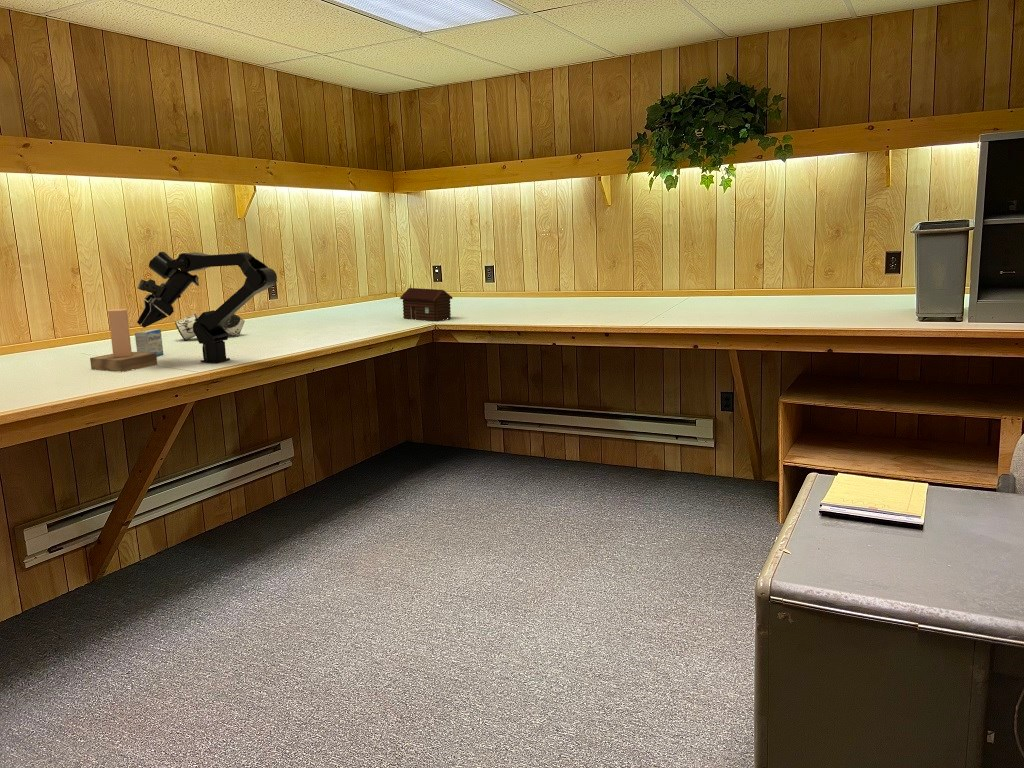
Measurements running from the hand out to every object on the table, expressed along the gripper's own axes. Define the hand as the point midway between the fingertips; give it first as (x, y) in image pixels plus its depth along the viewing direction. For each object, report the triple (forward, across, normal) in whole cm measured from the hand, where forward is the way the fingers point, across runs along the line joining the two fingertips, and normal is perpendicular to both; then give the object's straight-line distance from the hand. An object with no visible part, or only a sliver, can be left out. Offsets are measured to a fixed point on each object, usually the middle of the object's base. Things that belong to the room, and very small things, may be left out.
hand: (140, 325), depth 242 cm
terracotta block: (+10, 0, +2) cm, 11 cm away
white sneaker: (-11, -49, +30) cm, 58 cm away
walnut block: (+13, 0, +5) cm, 14 cm away
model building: (-77, -50, +95) cm, 132 cm away
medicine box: (+6, -16, +12) cm, 21 cm away
